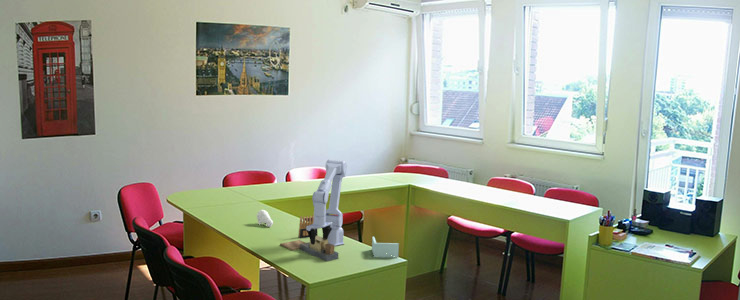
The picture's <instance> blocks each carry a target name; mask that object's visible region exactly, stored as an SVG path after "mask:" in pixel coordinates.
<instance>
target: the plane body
mask: <svg viewBox="0 0 740 300" xmlns="http://www.w3.org/2000/svg"><path fill="white" fill-rule="evenodd" d="M299 251H301V252H304V253H306V254H307V255H311V256H313V257H315V258H318V259H319V260H322V261H325V262H330V261H334V260H338V259H339V252H338V251H335V246H334V245H332V244H330V243H328V244H325V249H322V251H318V250H316V249H313V248H311V247H310V241H309V242H305V243H304V244H300V249H299Z"/></svg>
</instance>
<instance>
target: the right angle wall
mask: <svg viewBox="0 0 740 300" xmlns="http://www.w3.org/2000/svg"><path fill="white" fill-rule="evenodd" d="M371 242H372V243H371V252H372V256H373V255H374V256H373V258H395V259H396V257H398V258H399V252H400V251H399V248H400V247H399V246H400V243H398V242H395V243H394V242H393V243H391V242H377V240H376V238H375V236H372V239H371ZM386 253H387V254H386ZM391 255H392V256H391ZM376 256H377V257H376ZM393 256H395V257H393Z"/></svg>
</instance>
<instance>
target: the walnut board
mask: <svg viewBox="0 0 740 300" xmlns="http://www.w3.org/2000/svg"><path fill="white" fill-rule="evenodd" d="M304 243H306V242H305V241H303V240H301V239H299V240H292V241H289V242H288V241H287V242H283V243H282V242H281V243H279V246H281V247H284V248H285V249H288V250H290V251H296V250H300V244H304Z"/></svg>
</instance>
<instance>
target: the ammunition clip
mask: <svg viewBox="0 0 740 300" xmlns="http://www.w3.org/2000/svg"><path fill="white" fill-rule="evenodd" d="M313 223H314V214H312V215H309V217H308V215H306V216H305V215H303V217H302V216H300V218H299V227H298V236H297V238H299V239H307V238H310V237H309V235H308V233H307V230H306V227H307V226H309V225H312V224H313ZM314 230H315V231H317V233H316V236H318V229H314Z"/></svg>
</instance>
